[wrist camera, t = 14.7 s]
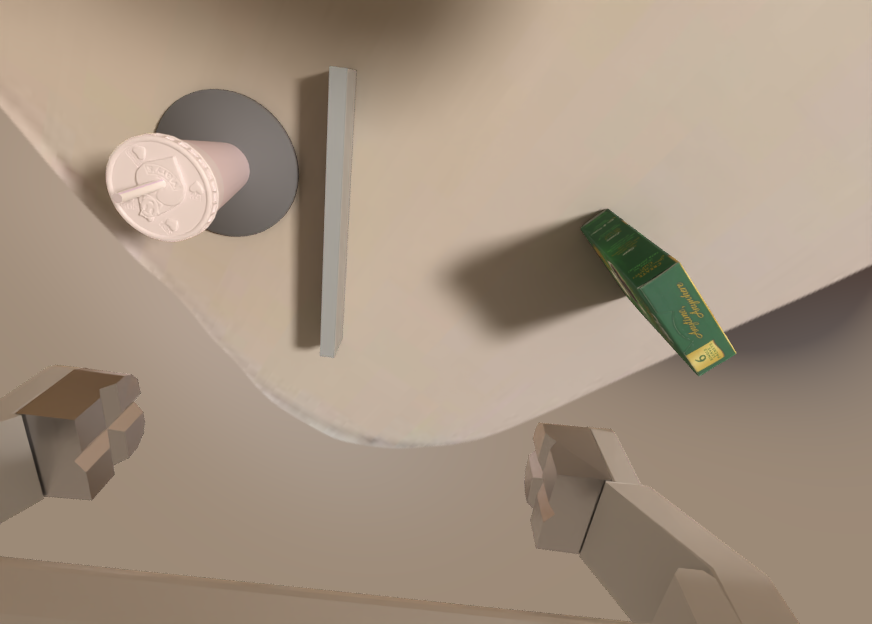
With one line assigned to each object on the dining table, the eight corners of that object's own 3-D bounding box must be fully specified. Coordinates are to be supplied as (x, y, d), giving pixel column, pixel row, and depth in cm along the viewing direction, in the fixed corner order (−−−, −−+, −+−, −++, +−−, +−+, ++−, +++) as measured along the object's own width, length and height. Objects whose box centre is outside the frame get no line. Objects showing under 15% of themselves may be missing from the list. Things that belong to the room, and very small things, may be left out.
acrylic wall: (340, 68, 35) (329, 65, 32) (356, 70, 35) (347, 68, 32) (329, 337, 44) (319, 356, 41) (342, 338, 44) (334, 357, 41)
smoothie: (281, 157, 38) (196, 192, 25) (244, 224, 40) (149, 288, 27) (204, 104, 36) (71, 113, 23) (170, 177, 38) (32, 221, 26)
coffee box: (657, 280, 42) (742, 357, 30) (627, 299, 42) (698, 382, 30) (609, 205, 39) (680, 256, 27) (577, 227, 40) (633, 285, 28)
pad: (149, 79, 36) (145, 79, 36) (299, 100, 36) (297, 100, 36) (164, 225, 40) (161, 227, 40) (298, 242, 41) (296, 244, 40)
